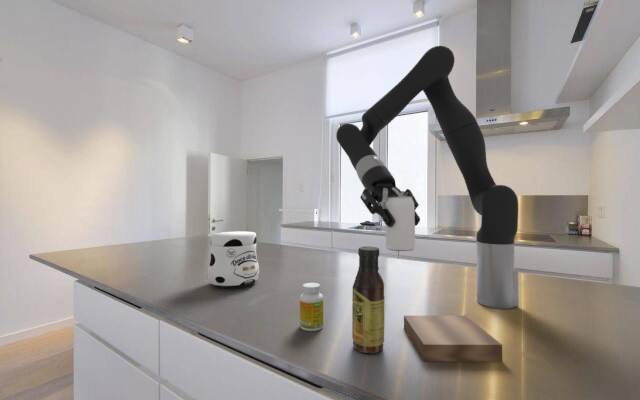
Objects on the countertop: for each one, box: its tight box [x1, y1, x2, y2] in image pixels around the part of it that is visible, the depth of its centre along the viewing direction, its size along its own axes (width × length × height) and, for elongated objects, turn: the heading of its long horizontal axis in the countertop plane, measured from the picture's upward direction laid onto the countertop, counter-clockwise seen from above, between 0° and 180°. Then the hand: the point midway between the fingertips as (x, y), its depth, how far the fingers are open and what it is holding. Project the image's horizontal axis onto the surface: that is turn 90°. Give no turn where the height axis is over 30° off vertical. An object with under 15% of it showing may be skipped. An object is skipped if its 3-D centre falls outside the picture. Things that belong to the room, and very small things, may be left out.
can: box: [385, 197, 416, 252], centre depth 70 cm, size 6×6×12 cm
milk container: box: [207, 231, 260, 289], centre depth 107 cm, size 17×17×18 cm
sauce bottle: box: [351, 245, 386, 354], centre depth 60 cm, size 7×6×20 cm
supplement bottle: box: [299, 282, 324, 332], centre depth 70 cm, size 5×5×10 cm
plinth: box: [403, 315, 503, 363], centre depth 61 cm, size 14×14×3 cm
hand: (404, 223), depth 68 cm, fingers closed on can, 6 cm apart
